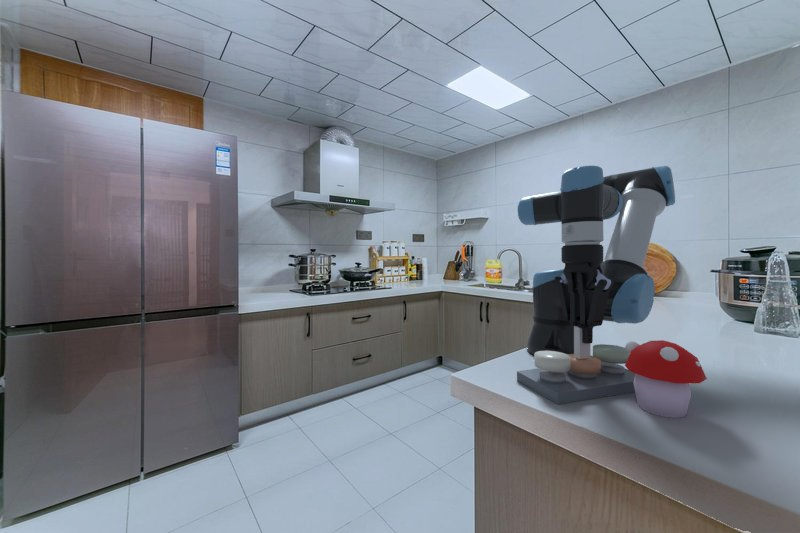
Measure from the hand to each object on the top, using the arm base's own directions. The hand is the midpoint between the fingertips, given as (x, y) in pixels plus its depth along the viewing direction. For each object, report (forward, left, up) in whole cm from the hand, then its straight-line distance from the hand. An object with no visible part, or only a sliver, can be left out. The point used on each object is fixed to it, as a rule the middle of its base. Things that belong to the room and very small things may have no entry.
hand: (582, 357), depth 66 cm
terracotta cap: (0, 0, -2) cm, 2 cm away
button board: (0, 0, -6) cm, 6 cm away
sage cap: (0, +8, -1) cm, 8 cm away
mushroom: (+13, +5, -6) cm, 15 cm away
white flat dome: (0, -7, -1) cm, 7 cm away
